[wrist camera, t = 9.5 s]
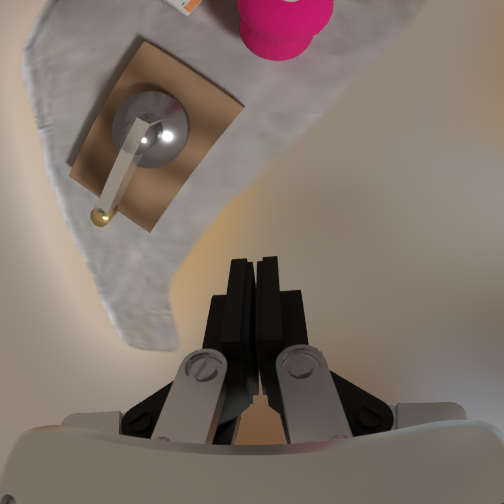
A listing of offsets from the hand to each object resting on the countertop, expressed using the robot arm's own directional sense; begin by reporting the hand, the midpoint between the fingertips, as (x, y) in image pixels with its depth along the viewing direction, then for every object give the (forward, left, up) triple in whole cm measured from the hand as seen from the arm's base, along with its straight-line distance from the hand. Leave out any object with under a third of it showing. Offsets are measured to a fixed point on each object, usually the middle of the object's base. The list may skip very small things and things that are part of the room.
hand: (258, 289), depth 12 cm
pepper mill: (-11, -7, -27) cm, 30 cm away
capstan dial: (+10, -11, -25) cm, 29 cm away
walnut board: (+8, -11, -27) cm, 30 cm away
